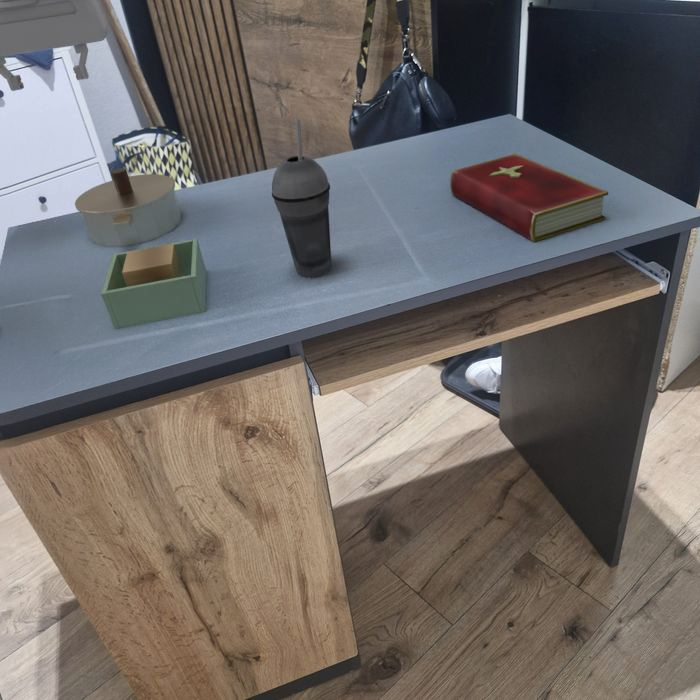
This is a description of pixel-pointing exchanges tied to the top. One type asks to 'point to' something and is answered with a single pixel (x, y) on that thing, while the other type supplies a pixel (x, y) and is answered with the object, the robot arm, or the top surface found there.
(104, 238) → the grey round open container
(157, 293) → the bin
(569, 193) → the hardcover book
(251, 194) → the top surface
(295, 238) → the beverage cup
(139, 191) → the pan lid
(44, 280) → the top surface
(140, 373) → the top surface
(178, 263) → the block
